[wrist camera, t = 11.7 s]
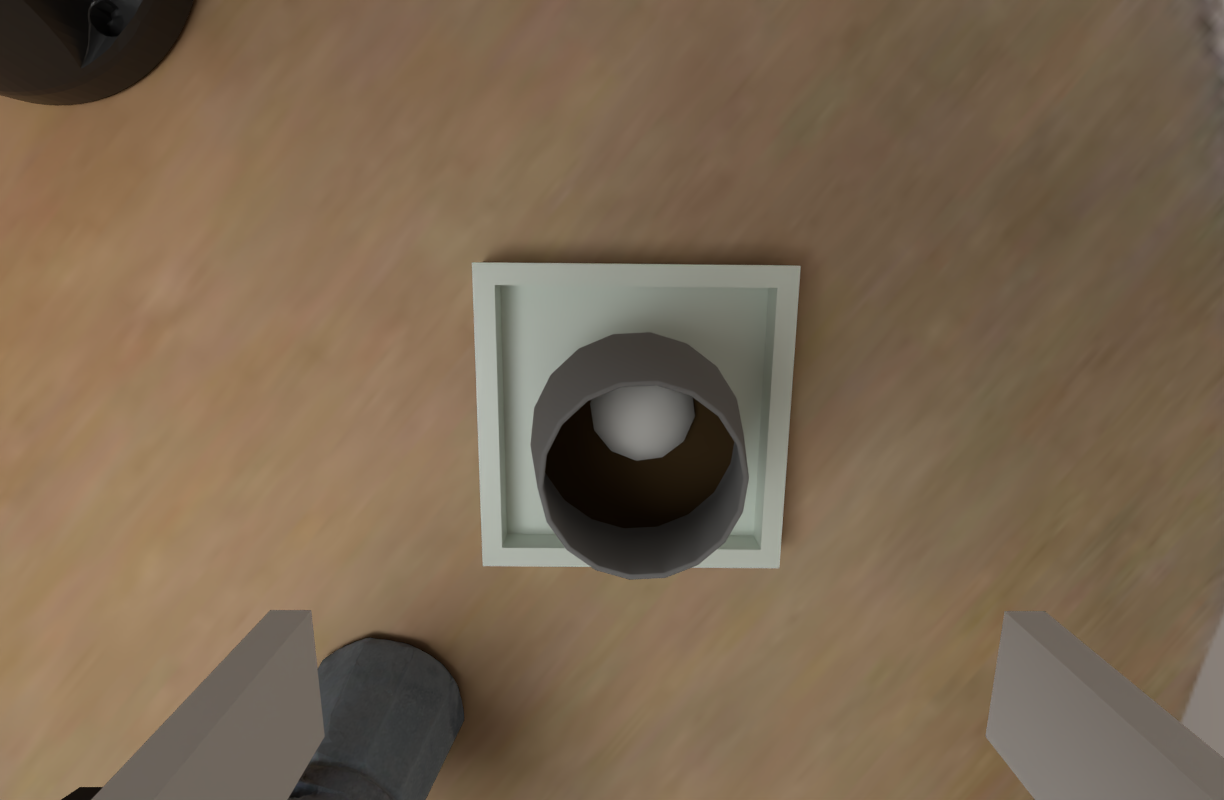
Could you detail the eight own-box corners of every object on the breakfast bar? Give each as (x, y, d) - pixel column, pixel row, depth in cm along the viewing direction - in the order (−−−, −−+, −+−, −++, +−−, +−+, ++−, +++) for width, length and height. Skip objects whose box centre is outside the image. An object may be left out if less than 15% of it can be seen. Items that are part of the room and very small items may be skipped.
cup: (551, 311, 32) (525, 335, 22) (739, 334, 32) (796, 369, 22) (532, 493, 34) (501, 589, 24) (710, 514, 34) (749, 617, 24)
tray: (482, 262, 32) (471, 262, 30) (786, 265, 32) (800, 265, 30) (491, 544, 35) (482, 565, 33) (767, 546, 35) (779, 568, 33)
